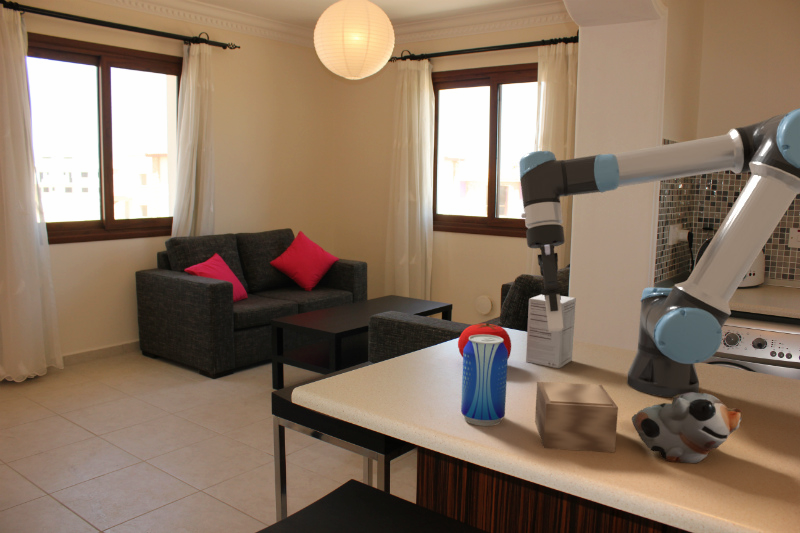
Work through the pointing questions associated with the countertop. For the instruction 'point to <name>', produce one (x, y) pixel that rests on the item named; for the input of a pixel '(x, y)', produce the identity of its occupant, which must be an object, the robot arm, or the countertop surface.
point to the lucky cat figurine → (686, 426)
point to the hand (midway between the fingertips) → (555, 330)
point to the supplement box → (550, 334)
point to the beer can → (484, 380)
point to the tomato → (486, 330)
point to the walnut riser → (575, 417)
